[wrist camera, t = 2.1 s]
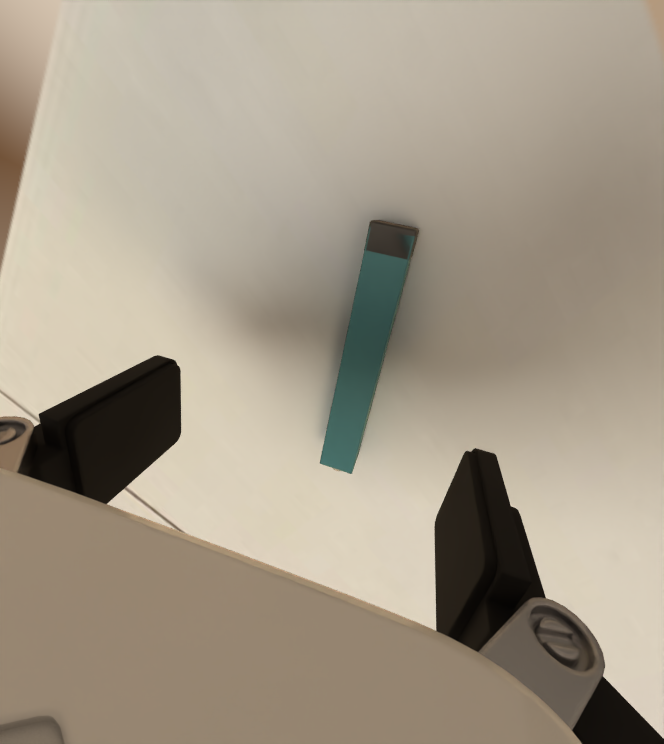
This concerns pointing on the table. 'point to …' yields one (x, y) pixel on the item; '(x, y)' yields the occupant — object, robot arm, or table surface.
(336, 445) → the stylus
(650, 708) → the table surface
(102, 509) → the robot arm
